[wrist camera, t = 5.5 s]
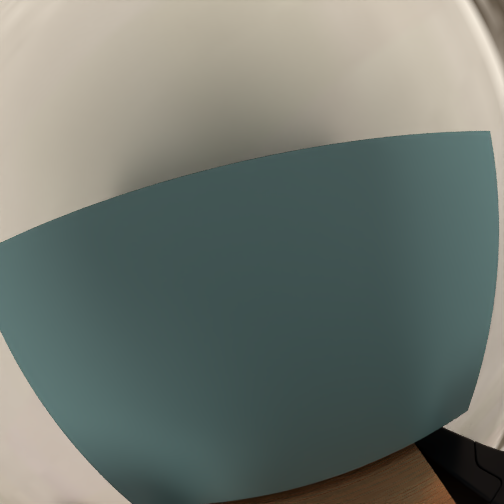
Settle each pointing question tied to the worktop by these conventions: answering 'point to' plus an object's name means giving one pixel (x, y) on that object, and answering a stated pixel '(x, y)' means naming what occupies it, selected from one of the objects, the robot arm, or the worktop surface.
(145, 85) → the worktop surface
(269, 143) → the worktop surface
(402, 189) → the socket block
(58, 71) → the worktop surface
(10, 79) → the worktop surface
